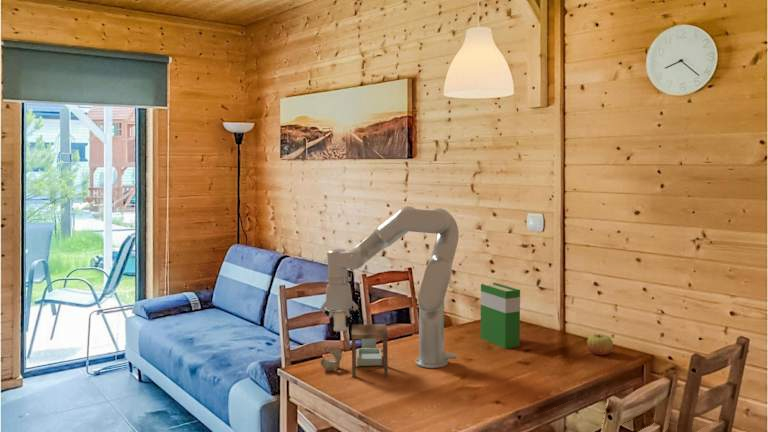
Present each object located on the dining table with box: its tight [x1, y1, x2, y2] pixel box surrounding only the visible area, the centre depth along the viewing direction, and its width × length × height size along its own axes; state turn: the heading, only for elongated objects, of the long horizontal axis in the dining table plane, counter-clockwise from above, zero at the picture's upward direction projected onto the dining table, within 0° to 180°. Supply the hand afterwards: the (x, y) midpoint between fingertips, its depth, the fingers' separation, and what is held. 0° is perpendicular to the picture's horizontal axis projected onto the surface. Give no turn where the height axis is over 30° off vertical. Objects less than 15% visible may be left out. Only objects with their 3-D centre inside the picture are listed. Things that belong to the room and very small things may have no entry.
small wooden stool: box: [351, 323, 389, 378], centre depth 230 cm, size 13×14×16 cm
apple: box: [586, 333, 614, 356], centre depth 249 cm, size 10×10×8 cm
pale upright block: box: [332, 310, 348, 332], centre depth 242 cm, size 5×5×7 cm
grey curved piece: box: [320, 345, 343, 373], centre depth 232 cm, size 9×6×10 cm
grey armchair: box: [356, 339, 383, 367], centre depth 247 cm, size 9×23×5 cm, turn 2°
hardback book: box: [479, 282, 521, 349], centre depth 265 cm, size 18×7×24 cm, turn 26°
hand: (340, 326), depth 242 cm, fingers closed on pale upright block, 5 cm apart
